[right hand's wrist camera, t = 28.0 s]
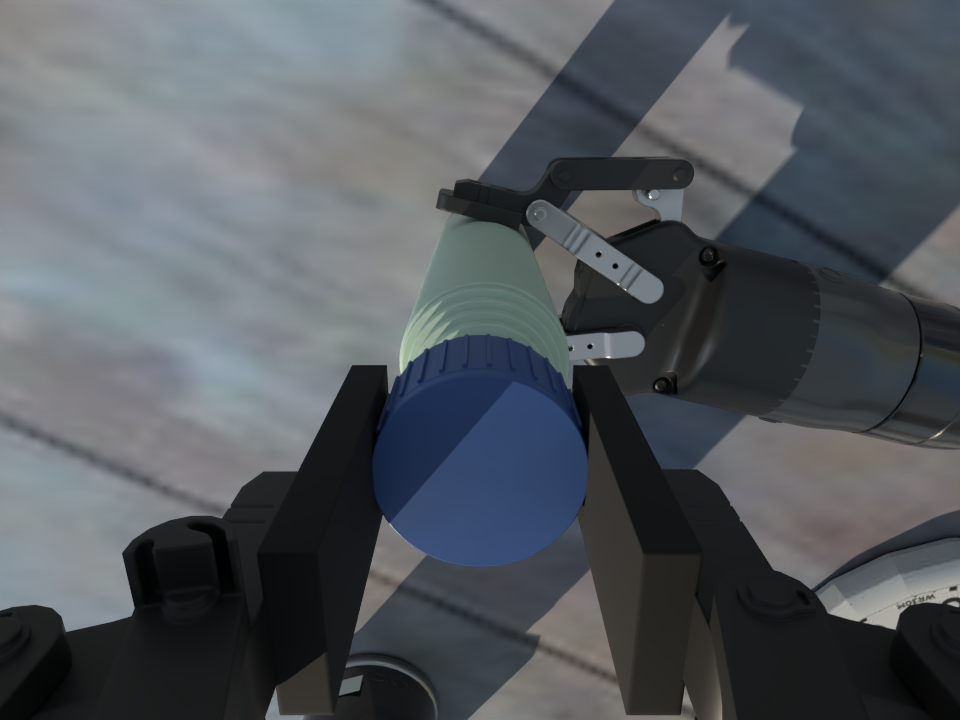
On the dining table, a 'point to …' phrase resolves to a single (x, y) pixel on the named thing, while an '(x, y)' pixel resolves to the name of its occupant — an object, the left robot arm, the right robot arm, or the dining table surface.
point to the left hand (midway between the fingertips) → (428, 257)
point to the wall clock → (896, 584)
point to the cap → (480, 452)
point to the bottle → (485, 293)
